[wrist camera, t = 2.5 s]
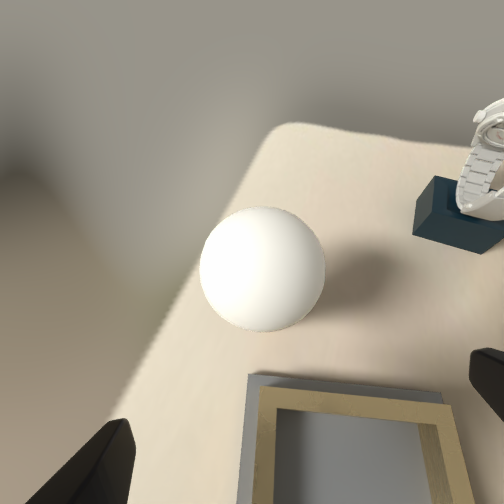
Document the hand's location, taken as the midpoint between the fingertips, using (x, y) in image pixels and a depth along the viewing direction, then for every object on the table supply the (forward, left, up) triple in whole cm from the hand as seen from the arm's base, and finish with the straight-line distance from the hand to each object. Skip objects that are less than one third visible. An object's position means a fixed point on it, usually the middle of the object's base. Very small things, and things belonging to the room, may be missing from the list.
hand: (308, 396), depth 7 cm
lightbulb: (+6, +2, -12) cm, 14 cm away
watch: (+16, -14, -12) cm, 25 cm away
